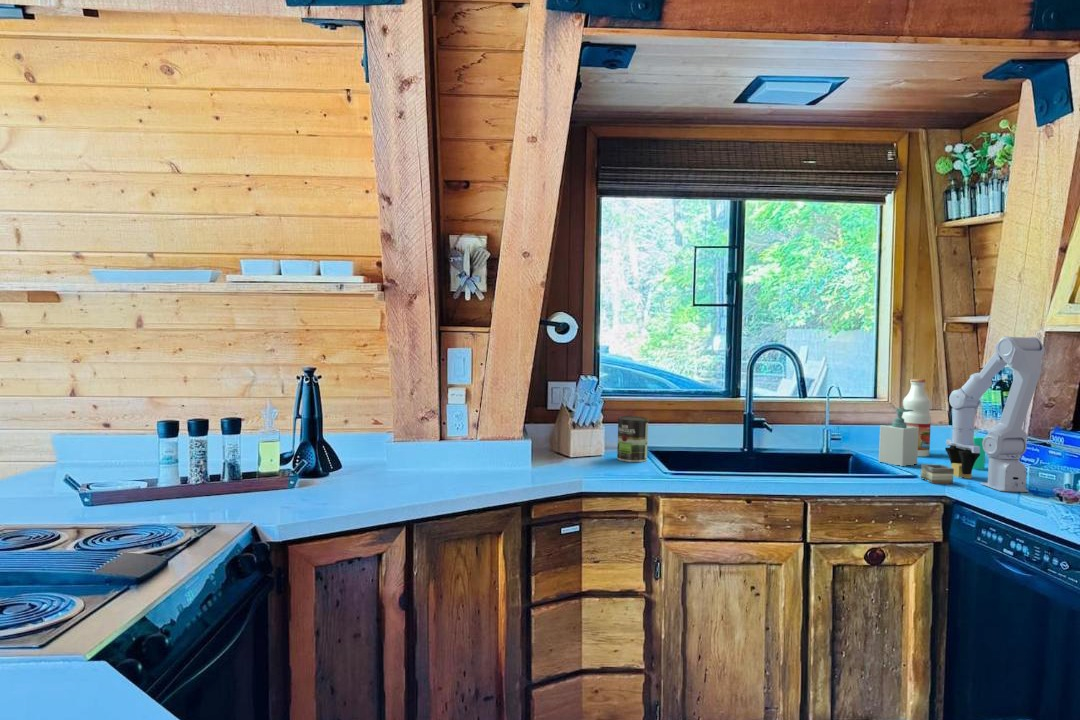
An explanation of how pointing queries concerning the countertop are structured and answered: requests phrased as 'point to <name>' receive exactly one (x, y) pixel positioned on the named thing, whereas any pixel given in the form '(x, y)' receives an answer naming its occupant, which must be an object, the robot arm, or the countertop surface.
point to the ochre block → (959, 470)
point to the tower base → (937, 473)
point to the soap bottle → (898, 442)
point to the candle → (981, 459)
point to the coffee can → (632, 439)
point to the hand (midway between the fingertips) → (961, 472)
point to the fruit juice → (919, 414)
